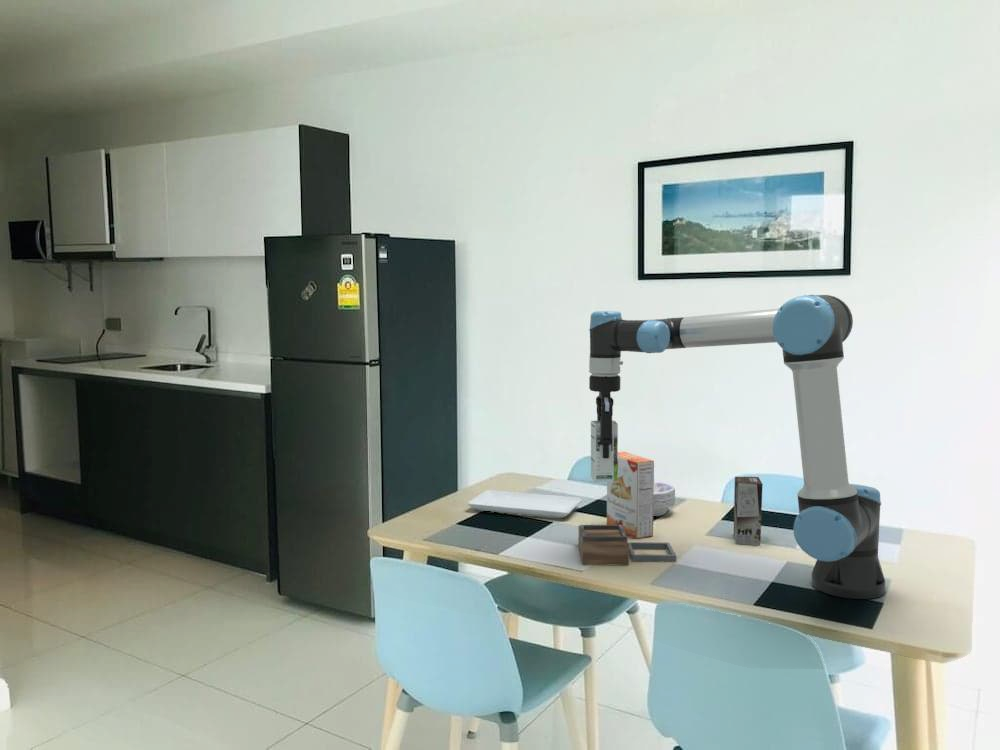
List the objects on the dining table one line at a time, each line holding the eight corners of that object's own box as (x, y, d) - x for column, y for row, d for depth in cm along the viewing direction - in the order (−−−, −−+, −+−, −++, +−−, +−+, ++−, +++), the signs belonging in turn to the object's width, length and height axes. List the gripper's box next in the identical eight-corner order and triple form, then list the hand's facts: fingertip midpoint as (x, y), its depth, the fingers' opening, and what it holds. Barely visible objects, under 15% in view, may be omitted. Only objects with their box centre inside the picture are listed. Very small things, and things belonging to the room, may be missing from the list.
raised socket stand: (628, 565, 200) (628, 540, 200) (582, 564, 201) (582, 540, 200) (621, 544, 216) (621, 522, 216) (578, 544, 217) (578, 521, 216)
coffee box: (761, 545, 215) (763, 484, 214) (735, 544, 216) (737, 483, 215) (757, 535, 224) (759, 476, 222) (732, 534, 225) (734, 475, 224)
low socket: (676, 561, 203) (676, 555, 203) (632, 561, 203) (632, 555, 203) (668, 548, 213) (668, 542, 213) (627, 548, 214) (627, 542, 213)
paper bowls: (612, 509, 251) (613, 483, 250) (655, 504, 257) (656, 479, 256) (640, 522, 237) (640, 495, 236) (685, 516, 243) (685, 489, 242)
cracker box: (605, 526, 233) (605, 452, 231) (623, 523, 236) (623, 450, 234) (635, 539, 221) (636, 461, 218) (653, 536, 223) (655, 459, 221)
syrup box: (594, 482, 204) (594, 423, 202) (590, 476, 210) (590, 419, 208) (617, 481, 204) (618, 423, 202) (612, 476, 210) (613, 419, 208)
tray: (568, 523, 237) (568, 511, 237) (465, 513, 248) (465, 502, 248) (583, 509, 253) (583, 497, 252) (486, 500, 264) (486, 489, 264)
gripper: (624, 378, 194) (623, 476, 197) (616, 370, 213) (615, 460, 216) (592, 378, 195) (591, 476, 197) (586, 370, 214) (585, 459, 216)
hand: (603, 467), depth 206 cm, fingers closed on syrup box, 6 cm apart
